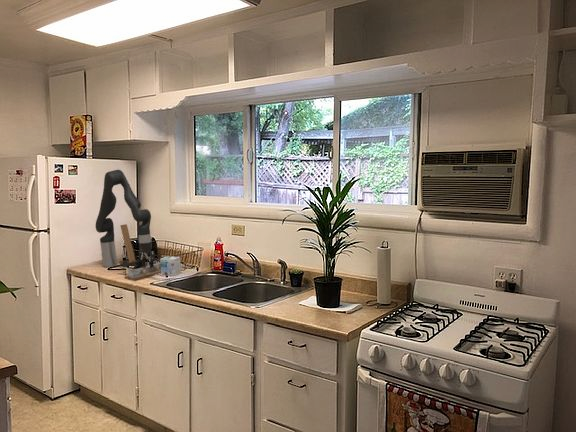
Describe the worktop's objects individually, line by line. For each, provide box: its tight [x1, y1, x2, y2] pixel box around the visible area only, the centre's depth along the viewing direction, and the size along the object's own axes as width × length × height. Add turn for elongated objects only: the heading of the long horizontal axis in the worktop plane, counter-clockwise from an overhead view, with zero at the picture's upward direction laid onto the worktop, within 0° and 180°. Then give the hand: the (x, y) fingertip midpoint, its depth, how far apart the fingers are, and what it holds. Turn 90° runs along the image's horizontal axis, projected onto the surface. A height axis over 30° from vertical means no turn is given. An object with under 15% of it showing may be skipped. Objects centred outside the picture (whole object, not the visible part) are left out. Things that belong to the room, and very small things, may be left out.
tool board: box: [124, 266, 161, 282], centre depth 302 cm, size 12×27×4 cm, turn 140°
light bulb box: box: [159, 256, 182, 277], centre depth 298 cm, size 11×7×11 cm, turn 72°
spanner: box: [127, 261, 161, 277], centre depth 302 cm, size 5×25×4 cm, turn 140°
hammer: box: [119, 223, 144, 268], centre depth 322 cm, size 20×5×30 cm, turn 54°
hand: (148, 266), depth 302 cm, fingers open, 8 cm apart
